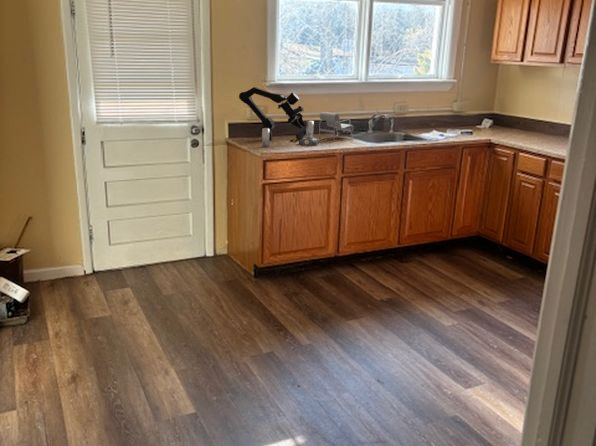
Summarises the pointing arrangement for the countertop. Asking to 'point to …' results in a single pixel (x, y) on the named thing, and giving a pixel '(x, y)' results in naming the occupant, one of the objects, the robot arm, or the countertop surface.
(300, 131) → the handgun
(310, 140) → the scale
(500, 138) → the countertop surface
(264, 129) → the spacer
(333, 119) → the chair
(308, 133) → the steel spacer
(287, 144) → the countertop surface
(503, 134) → the countertop surface
